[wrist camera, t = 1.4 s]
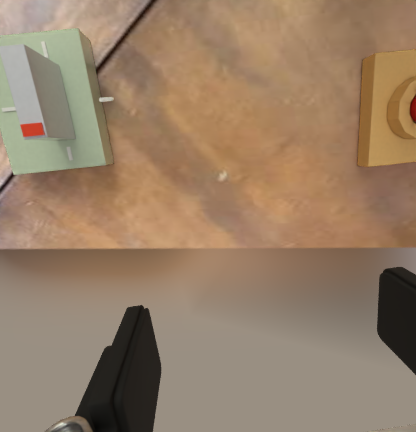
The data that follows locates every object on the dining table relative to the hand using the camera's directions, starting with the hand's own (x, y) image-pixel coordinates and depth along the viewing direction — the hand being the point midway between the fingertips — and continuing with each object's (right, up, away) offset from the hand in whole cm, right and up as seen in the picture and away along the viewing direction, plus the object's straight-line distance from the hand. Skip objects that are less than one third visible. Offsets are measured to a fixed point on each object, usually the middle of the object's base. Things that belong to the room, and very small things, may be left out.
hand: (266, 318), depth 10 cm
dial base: (-18, +16, +19) cm, 31 cm away
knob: (-18, +15, +16) cm, 28 cm away
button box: (+21, +17, +21) cm, 34 cm away
